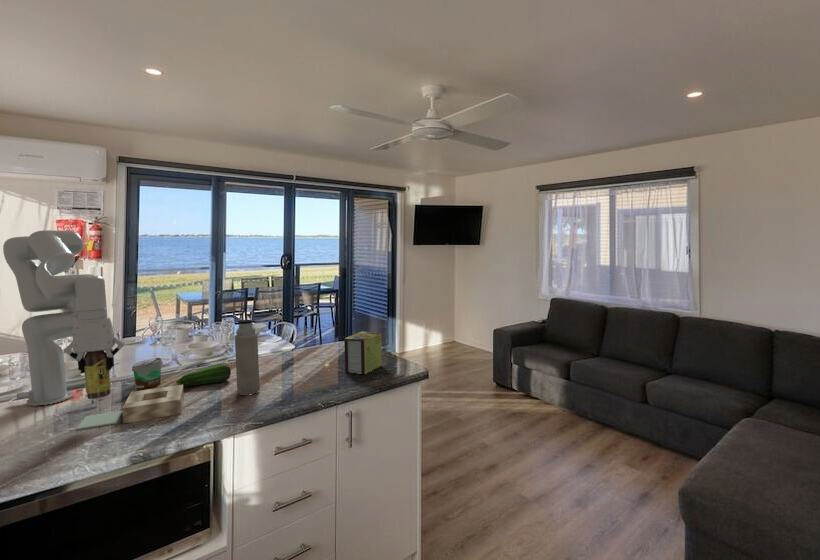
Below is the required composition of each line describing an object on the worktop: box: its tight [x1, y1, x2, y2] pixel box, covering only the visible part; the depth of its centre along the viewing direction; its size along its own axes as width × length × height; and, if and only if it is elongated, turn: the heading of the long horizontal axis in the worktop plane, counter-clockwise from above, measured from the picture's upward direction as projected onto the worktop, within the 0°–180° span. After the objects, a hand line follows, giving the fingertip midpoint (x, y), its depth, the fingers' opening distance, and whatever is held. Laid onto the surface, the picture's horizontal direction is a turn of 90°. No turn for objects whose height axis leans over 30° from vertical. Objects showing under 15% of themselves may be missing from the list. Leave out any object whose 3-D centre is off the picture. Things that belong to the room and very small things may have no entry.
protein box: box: [343, 331, 382, 375], centre depth 182 cm, size 10×15×16 cm
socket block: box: [121, 384, 185, 424], centre depth 139 cm, size 16×16×5 cm
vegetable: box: [175, 363, 232, 388], centre depth 164 cm, size 7×7×20 cm
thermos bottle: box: [234, 319, 261, 396], centre depth 154 cm, size 8×8×28 cm
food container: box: [131, 357, 164, 391], centre depth 162 cm, size 12×6×10 cm, turn 168°
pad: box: [76, 410, 123, 431], centre depth 131 cm, size 10×10×1 cm
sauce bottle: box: [84, 350, 112, 400], centre depth 129 cm, size 6×6×20 cm
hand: (96, 370), depth 129 cm, fingers closed on sauce bottle, 6 cm apart
